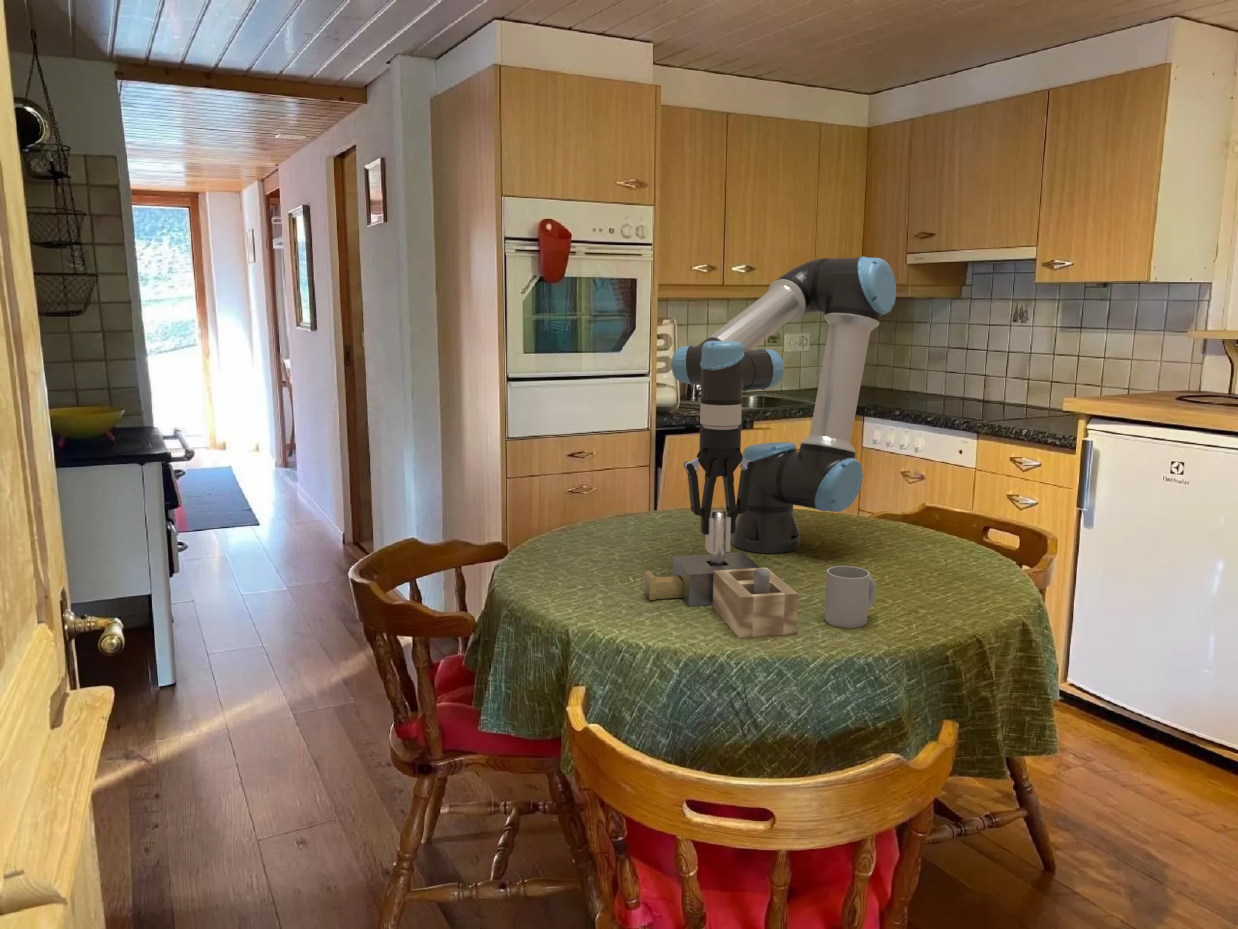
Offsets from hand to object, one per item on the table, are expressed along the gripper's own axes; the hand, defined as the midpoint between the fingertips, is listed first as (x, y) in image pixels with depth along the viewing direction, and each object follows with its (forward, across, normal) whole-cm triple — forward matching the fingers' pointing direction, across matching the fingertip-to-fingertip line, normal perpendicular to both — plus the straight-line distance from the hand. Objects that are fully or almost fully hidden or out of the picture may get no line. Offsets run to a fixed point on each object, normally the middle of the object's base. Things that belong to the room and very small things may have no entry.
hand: (717, 550), depth 173 cm
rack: (+9, -2, +15) cm, 17 cm away
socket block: (+9, 0, 0) cm, 9 cm away
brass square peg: (+8, +8, 0) cm, 12 cm away
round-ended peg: (+9, 0, 0) cm, 9 cm away
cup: (+9, -19, +18) cm, 28 cm away
